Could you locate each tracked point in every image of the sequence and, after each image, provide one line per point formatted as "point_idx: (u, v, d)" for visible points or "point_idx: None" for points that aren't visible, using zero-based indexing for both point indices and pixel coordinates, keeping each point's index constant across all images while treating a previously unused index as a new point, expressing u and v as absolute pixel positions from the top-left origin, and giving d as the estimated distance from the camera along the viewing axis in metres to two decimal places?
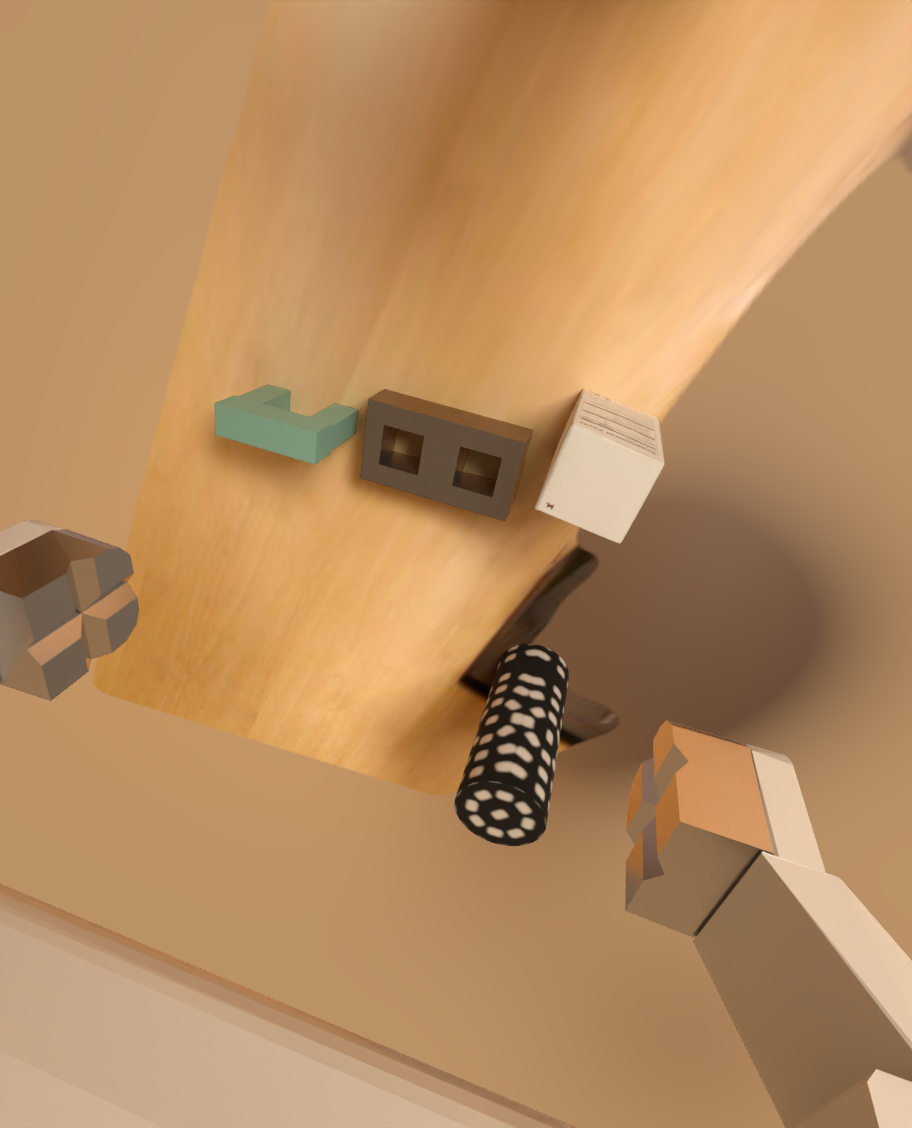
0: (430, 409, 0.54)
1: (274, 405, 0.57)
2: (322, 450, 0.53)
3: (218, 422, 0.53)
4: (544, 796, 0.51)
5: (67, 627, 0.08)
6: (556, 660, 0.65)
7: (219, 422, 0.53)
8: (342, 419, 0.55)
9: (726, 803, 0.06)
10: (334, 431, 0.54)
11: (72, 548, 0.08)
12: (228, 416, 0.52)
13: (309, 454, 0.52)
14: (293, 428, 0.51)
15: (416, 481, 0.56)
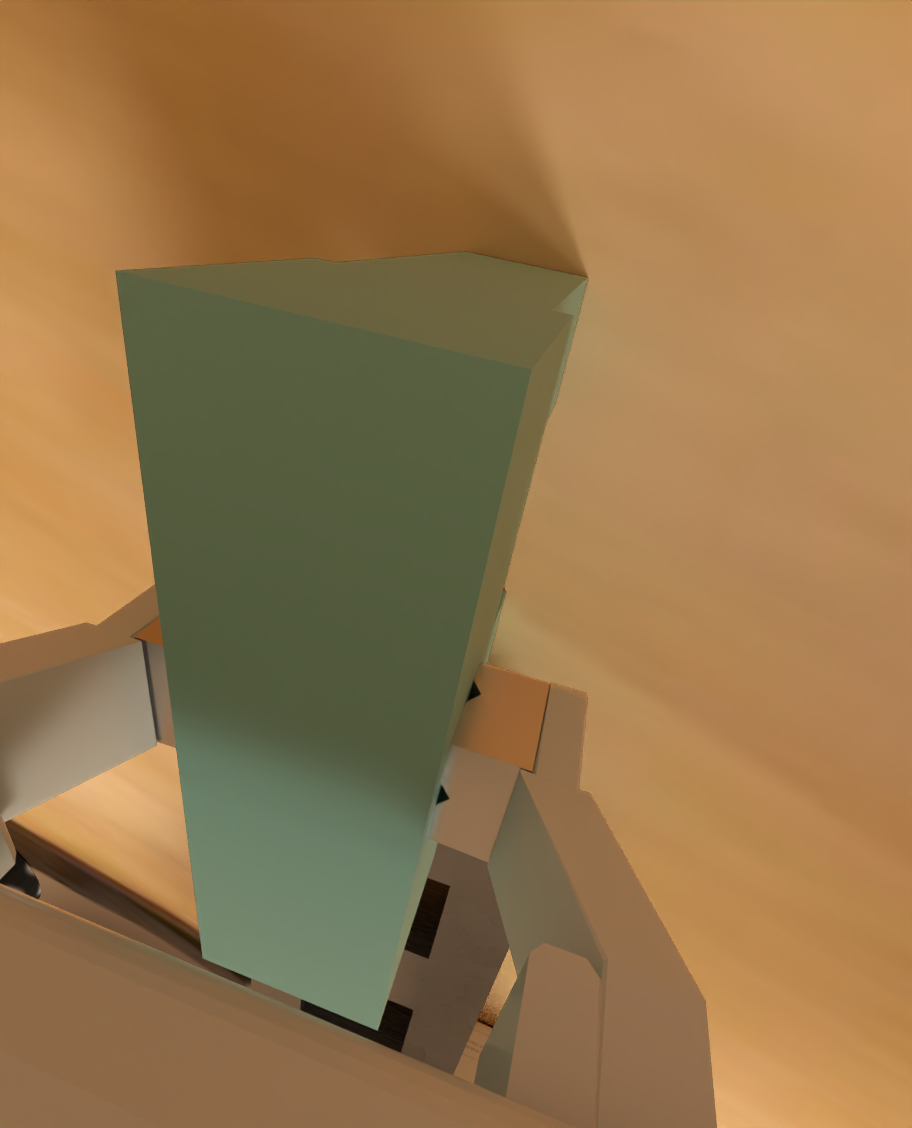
0: None
1: None
2: None
3: (282, 360, 0.04)
4: None
5: None
6: None
7: (286, 378, 0.04)
8: None
9: (504, 729, 0.07)
10: None
11: None
12: (386, 523, 0.04)
13: (247, 958, 0.09)
14: (376, 956, 0.08)
15: None
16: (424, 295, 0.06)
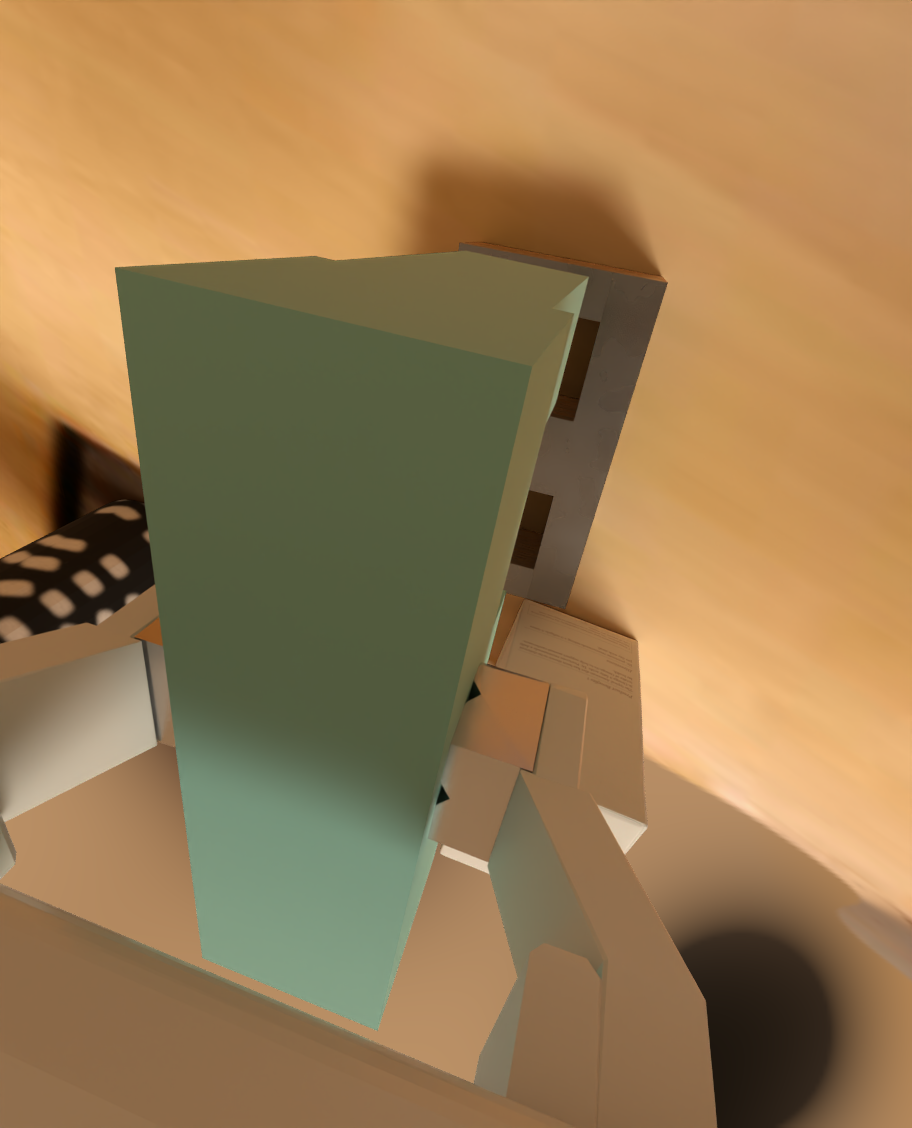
0: None
1: None
2: None
3: (282, 357, 0.04)
4: None
5: None
6: None
7: (286, 375, 0.04)
8: None
9: (503, 729, 0.07)
10: None
11: None
12: (386, 520, 0.04)
13: (247, 958, 0.09)
14: (376, 954, 0.08)
15: None
16: (424, 293, 0.05)
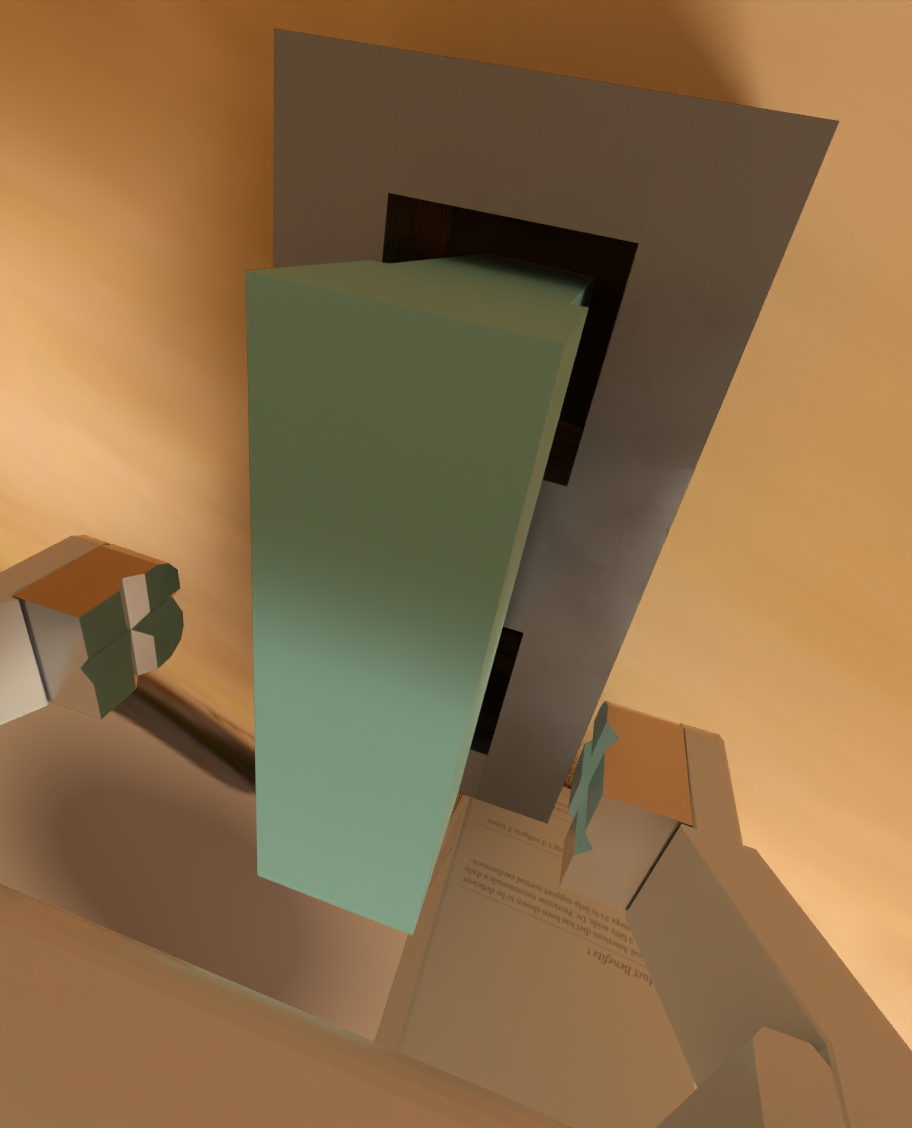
0: None
1: None
2: None
3: (373, 338, 0.05)
4: None
5: (117, 644, 0.08)
6: None
7: (374, 352, 0.05)
8: None
9: (650, 778, 0.06)
10: None
11: (122, 564, 0.08)
12: (446, 466, 0.06)
13: (298, 872, 0.10)
14: (416, 858, 0.09)
15: None
16: (468, 290, 0.07)
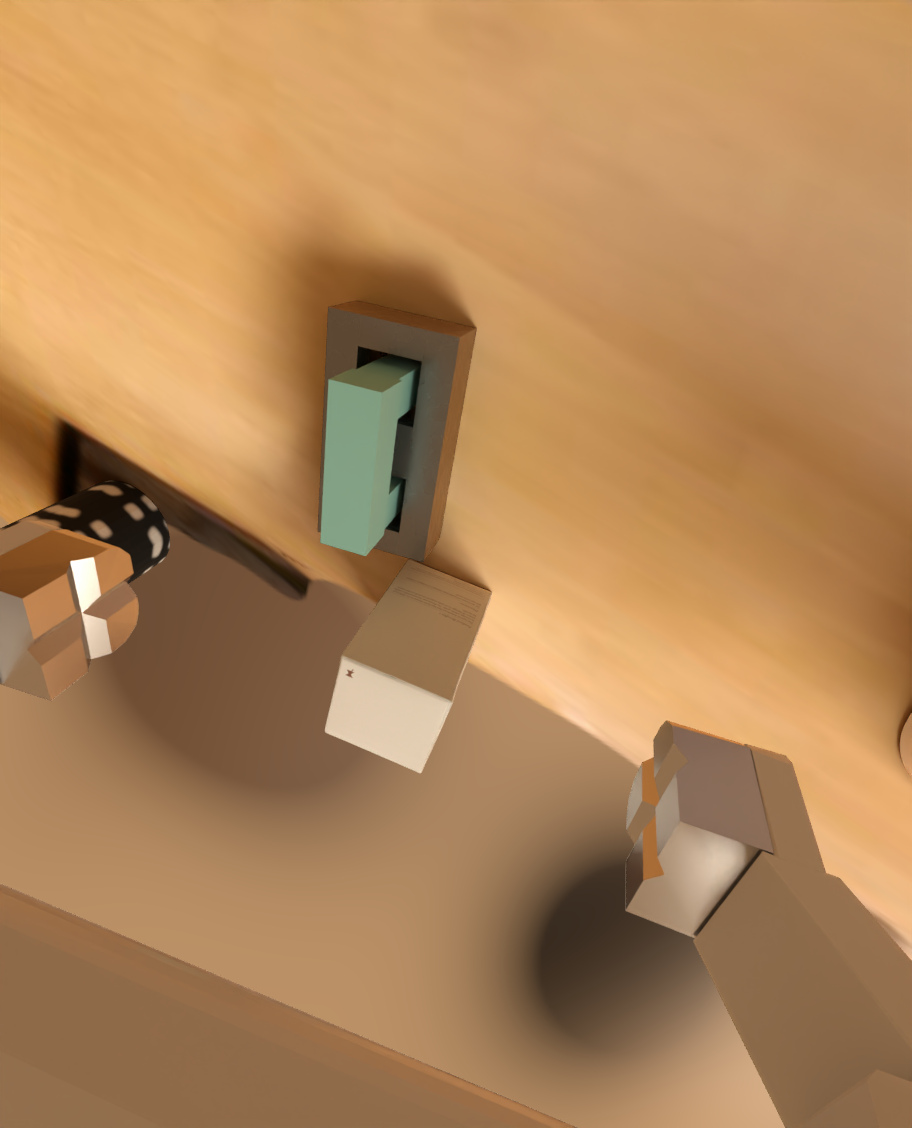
0: (452, 423, 0.37)
1: None
2: None
3: (350, 391, 0.30)
4: None
5: (67, 627, 0.08)
6: (158, 560, 0.51)
7: (351, 393, 0.30)
8: (393, 518, 0.40)
9: (726, 803, 0.06)
10: None
11: (72, 548, 0.08)
12: (365, 414, 0.31)
13: (332, 538, 0.35)
14: (365, 523, 0.34)
15: None
16: (372, 378, 0.32)
